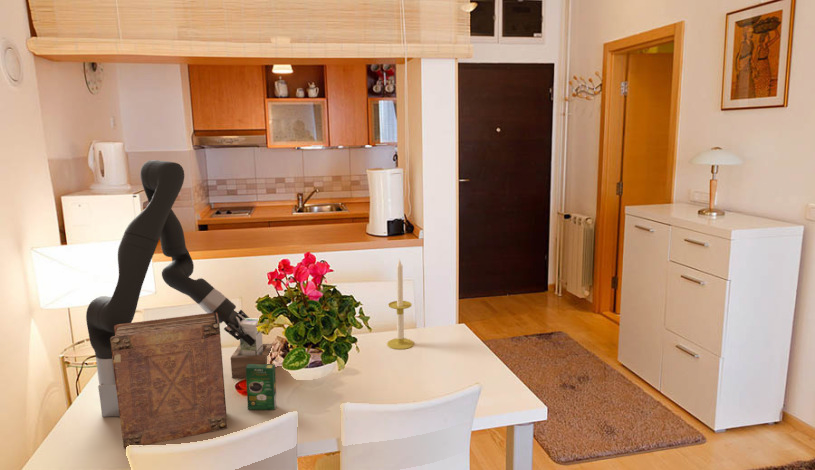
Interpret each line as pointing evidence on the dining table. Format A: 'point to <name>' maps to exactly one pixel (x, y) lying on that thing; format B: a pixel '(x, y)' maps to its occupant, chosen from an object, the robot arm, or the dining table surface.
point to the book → (169, 378)
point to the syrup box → (251, 329)
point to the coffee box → (261, 386)
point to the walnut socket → (247, 361)
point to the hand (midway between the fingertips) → (256, 339)
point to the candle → (400, 314)
